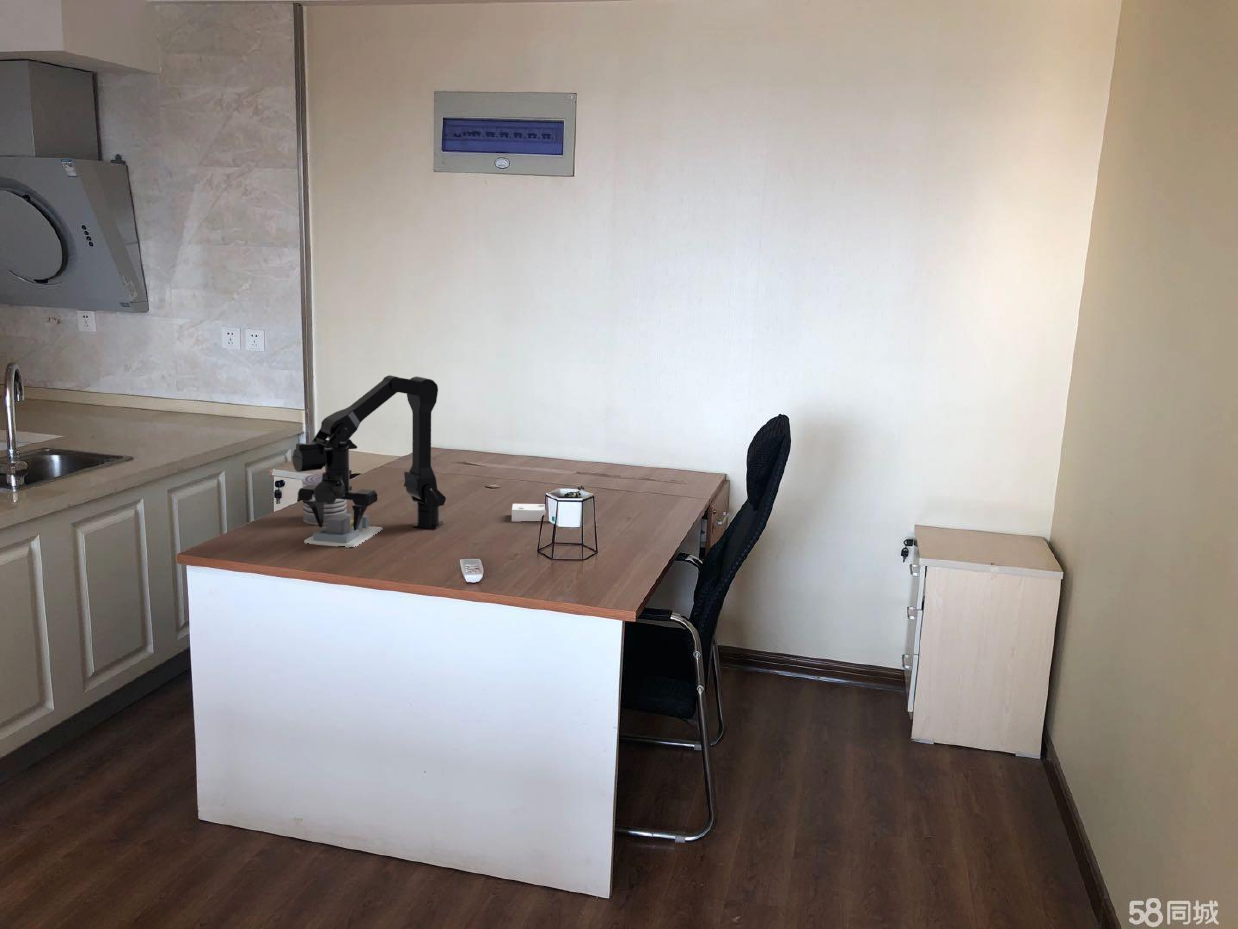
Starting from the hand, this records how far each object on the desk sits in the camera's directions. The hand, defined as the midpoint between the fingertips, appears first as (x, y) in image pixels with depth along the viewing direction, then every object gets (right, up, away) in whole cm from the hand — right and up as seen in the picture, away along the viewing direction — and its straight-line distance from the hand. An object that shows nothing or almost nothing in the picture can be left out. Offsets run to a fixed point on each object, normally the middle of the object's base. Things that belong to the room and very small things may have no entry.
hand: (338, 528), depth 245 cm
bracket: (+47, 0, +29) cm, 55 cm away
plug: (+1, -1, +6) cm, 6 cm away
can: (-9, +1, +19) cm, 21 cm away
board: (0, -2, +4) cm, 5 cm away
